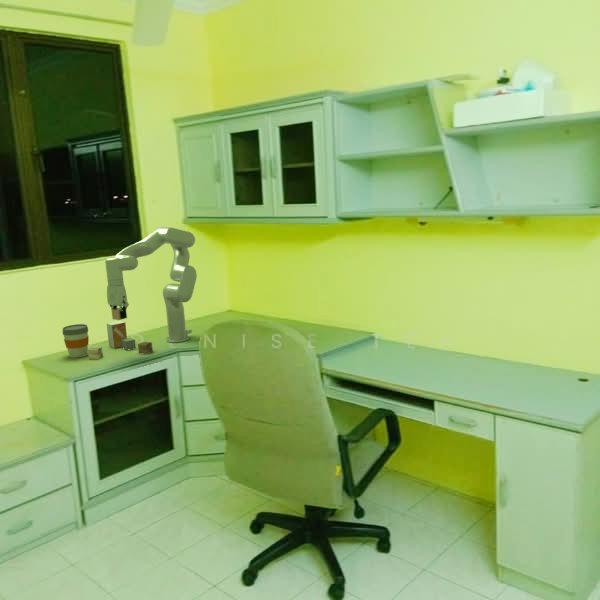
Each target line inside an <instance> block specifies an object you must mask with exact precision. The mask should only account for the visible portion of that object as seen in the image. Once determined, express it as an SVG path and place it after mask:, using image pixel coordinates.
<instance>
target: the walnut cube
mask: <svg viewBox="0 0 600 600" xmlns="http://www.w3.org/2000/svg"><path fill="white" fill-rule="evenodd" d="M137 348H138V354H140V353H145V354H144V355H147V353H148V354H150V353H152V352H153V342H152V341H143V342H140V343H138V344H137ZM151 351H152V352H151ZM149 352H150V353H149Z"/></svg>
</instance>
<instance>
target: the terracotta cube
mask: <svg viewBox="0 0 600 600" xmlns="http://www.w3.org/2000/svg"><path fill="white" fill-rule="evenodd" d="M120 311H121V310H120V307H119V306H118V307H117V308H116V309H112V310H111V319H112V320H116V321H123V320H125V319H128V314H127V311H126V318H124V319H121V317H120Z"/></svg>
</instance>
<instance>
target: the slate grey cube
mask: <svg viewBox="0 0 600 600" xmlns="http://www.w3.org/2000/svg"><path fill="white" fill-rule="evenodd" d="M122 345H123V346H122V349H123V348H124V349H123V350H125V349H126V350H125V351H129V350H128V349H131V350H134V349H133V348H136V347H137V346H136V339H134V338H132V337H129V338H128V337H127V339H124V340H122Z"/></svg>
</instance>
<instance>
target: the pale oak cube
mask: <svg viewBox="0 0 600 600" xmlns="http://www.w3.org/2000/svg"><path fill="white" fill-rule="evenodd" d="M87 355H88V359H89V360H99V359H100V357H101V358H103V357H104V356H103V355H104V353H103V346H92V347H90V348H88V354H87Z"/></svg>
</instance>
